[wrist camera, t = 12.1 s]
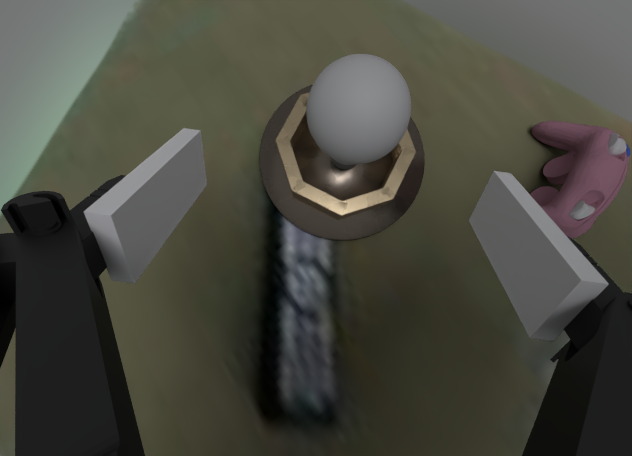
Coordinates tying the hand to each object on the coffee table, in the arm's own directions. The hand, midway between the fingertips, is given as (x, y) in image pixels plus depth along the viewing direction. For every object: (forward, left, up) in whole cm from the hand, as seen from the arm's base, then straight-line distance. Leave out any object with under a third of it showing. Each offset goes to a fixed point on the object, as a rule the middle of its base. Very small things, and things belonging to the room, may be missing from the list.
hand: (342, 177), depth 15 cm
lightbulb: (+1, -5, -12) cm, 13 cm away
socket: (+1, -5, -13) cm, 14 cm away
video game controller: (-15, -11, -13) cm, 23 cm away
